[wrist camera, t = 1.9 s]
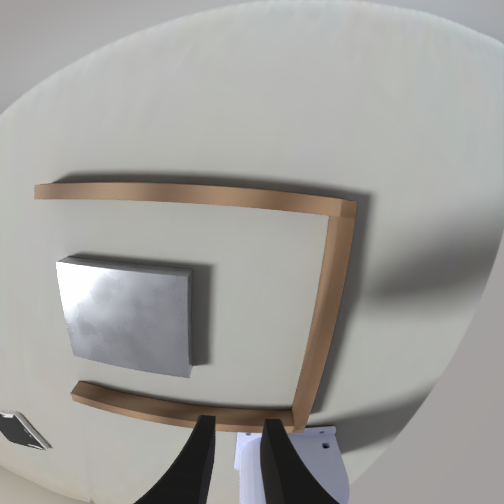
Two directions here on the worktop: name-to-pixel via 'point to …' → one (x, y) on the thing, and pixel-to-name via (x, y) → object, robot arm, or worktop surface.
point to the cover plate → (128, 314)
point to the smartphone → (20, 430)
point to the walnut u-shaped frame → (324, 311)
